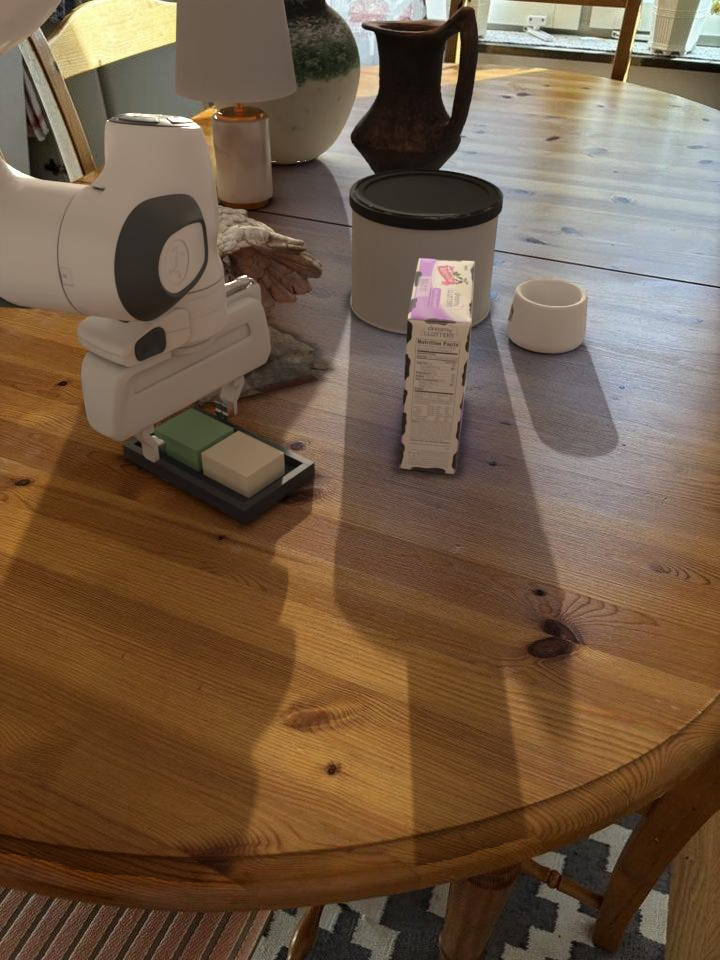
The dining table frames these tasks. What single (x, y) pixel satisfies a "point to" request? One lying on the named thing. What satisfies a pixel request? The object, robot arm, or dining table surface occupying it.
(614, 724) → the dining table surface
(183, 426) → the sage pad
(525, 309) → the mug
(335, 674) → the dining table surface
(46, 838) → the dining table surface
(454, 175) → the container
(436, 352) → the candy box
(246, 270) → the cherub figurine
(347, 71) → the vase
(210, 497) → the dark serving tray
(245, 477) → the cream pad
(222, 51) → the lamp
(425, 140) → the jug
